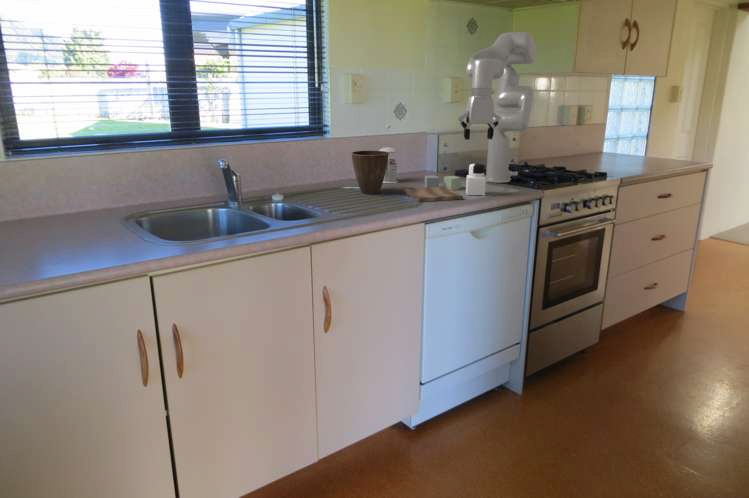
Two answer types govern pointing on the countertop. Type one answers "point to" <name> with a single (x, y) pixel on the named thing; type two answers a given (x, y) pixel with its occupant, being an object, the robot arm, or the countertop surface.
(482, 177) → the medicine bottle
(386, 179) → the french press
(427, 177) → the slate block
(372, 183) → the plant pot
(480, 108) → the robot arm
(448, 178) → the sage block
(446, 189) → the walnut board
